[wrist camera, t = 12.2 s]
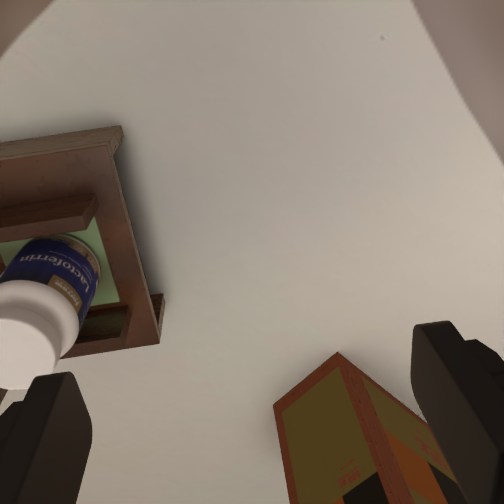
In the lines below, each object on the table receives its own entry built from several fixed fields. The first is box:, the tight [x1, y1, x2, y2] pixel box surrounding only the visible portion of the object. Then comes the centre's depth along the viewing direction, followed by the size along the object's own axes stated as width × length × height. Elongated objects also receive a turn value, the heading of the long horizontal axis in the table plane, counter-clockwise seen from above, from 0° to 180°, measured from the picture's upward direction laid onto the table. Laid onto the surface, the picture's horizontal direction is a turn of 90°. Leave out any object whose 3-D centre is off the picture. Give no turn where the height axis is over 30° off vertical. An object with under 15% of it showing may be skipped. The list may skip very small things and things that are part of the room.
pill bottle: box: [0, 234, 100, 390], centre depth 30 cm, size 6×6×10 cm
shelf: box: [0, 125, 165, 404], centre depth 34 cm, size 16×12×12 cm
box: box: [273, 352, 468, 504], centre depth 43 cm, size 17×9×20 cm, turn 46°
